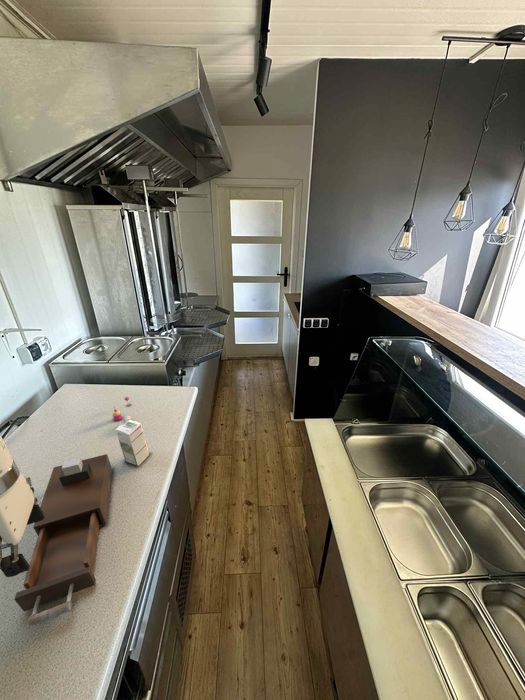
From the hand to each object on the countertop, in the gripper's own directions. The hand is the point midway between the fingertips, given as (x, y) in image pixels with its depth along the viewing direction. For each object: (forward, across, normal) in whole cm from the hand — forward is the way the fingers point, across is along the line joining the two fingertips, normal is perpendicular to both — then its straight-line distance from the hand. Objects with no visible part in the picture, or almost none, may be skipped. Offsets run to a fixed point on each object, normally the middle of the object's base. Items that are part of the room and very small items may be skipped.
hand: (27, 544), depth 53 cm
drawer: (+20, -7, 0) cm, 21 cm away
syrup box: (+21, -37, +16) cm, 45 cm away
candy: (+21, -62, +11) cm, 66 cm away
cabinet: (+21, -25, 0) cm, 33 cm away
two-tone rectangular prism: (+14, -28, 0) cm, 31 cm away
